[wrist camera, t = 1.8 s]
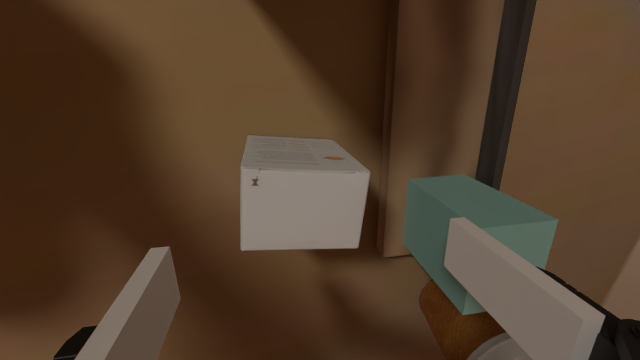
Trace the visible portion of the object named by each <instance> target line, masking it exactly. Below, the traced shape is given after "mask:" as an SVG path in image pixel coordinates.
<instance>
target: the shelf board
mask: <svg viewBox="0 0 640 360" xmlns="http://www.w3.org/2000/svg"><path fill="white" fill-rule="evenodd" d="M536 1H537V0H390V6H389V25H388V43H387V62H386V80H385V99H384V117H383V136H382V154H381V173H380V191H379V210H378V228H377V249H378V250H379V252H380V253H381V255H382V256H383V258H384V257H392V256H401V255H409V254H411V253H410V251H409V250H408V249H407V248H406V247H405V245H404V244H403V243H402V242H403V231H404V219H405V208H406V196H407V185H408V179H414V178H427V177H440V176H453V175H467V176H469V177H471V178H473V179H475V180H477V181H479V182H481V183H483V184H485V185H487V186H490V187H492V188H494V189H496V190H498V191H499V188H500V183H501V178H502V173H503V168H504V163H505V158H506V153H507V148H508V143H509V137H510V132H511V127H512V122H513V117H514V112H515V107H516V102H517V97H518V92H519V87H520V82H521V77H522V72H523V66H524V61H525V56H526V51H527V46H528V41H529V36H530V31H531V26H532V21H533V16H534V11H535V6H536Z"/></svg>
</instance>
